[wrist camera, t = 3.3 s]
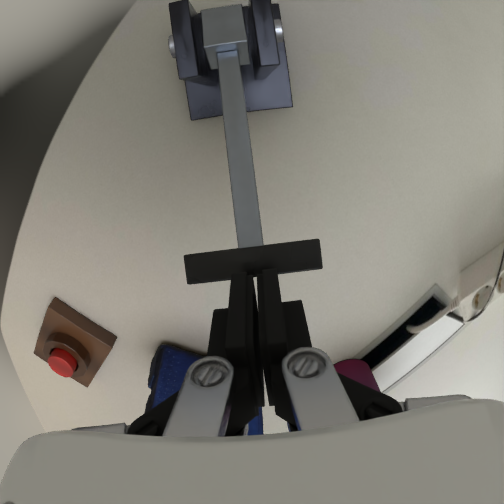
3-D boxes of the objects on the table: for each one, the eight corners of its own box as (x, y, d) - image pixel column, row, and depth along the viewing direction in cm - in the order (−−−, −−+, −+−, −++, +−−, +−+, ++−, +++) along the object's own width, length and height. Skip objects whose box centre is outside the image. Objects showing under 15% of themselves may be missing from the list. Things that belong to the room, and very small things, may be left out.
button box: (91, 377, 44) (84, 396, 40) (39, 344, 41) (28, 361, 37) (117, 336, 39) (108, 357, 36) (55, 296, 37) (41, 314, 33)
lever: (316, 265, 16) (325, 269, 13) (195, 280, 16) (184, 286, 14) (276, 25, 16) (277, 0, 13) (176, 40, 16) (165, 17, 13)
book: (152, 359, 41) (118, 490, 24) (159, 334, 39) (121, 476, 21) (249, 387, 44) (251, 516, 26) (264, 365, 42) (271, 504, 24)
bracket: (291, 106, 27) (326, 115, 15) (193, 119, 28) (150, 140, 15) (277, 6, 23) (300, -56, 10) (178, 20, 23) (127, -29, 11)
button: (73, 372, 38) (69, 381, 37) (50, 357, 37) (45, 366, 36) (80, 358, 37) (76, 368, 35) (55, 342, 36) (50, 351, 34)
